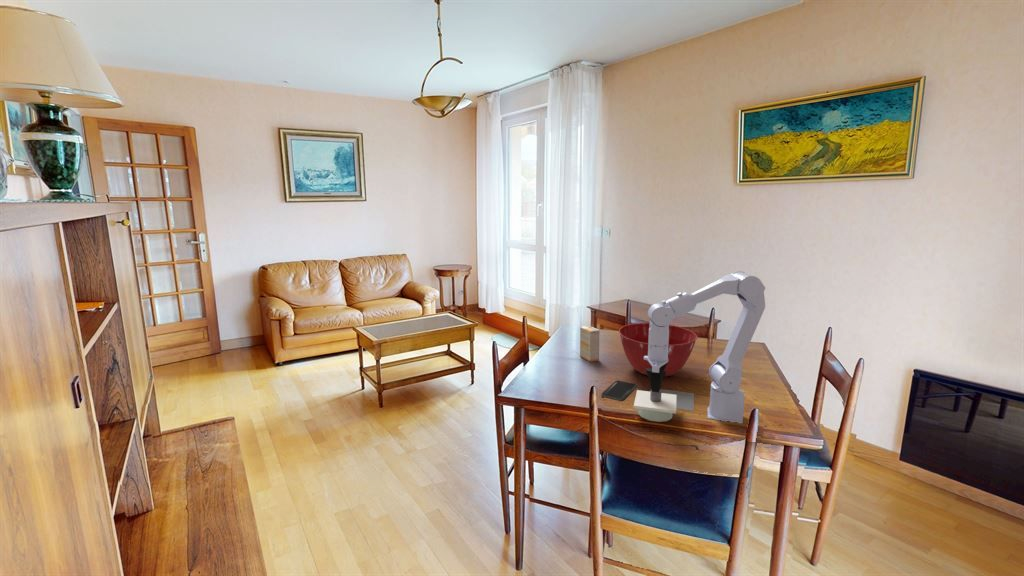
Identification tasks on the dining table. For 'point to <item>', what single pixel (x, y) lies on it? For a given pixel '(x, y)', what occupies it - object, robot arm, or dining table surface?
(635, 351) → the mixing bowl
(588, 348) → the supplement box
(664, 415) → the bowl
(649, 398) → the lid
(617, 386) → the phone
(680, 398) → the mat
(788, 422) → the dining table surface
